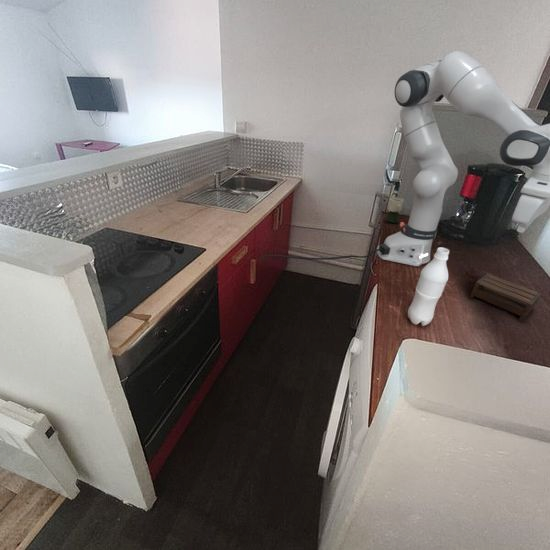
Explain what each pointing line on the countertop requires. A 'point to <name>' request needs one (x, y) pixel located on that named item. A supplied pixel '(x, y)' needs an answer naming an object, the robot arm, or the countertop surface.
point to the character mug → (394, 209)
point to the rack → (505, 295)
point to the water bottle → (429, 288)
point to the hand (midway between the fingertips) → (521, 231)
